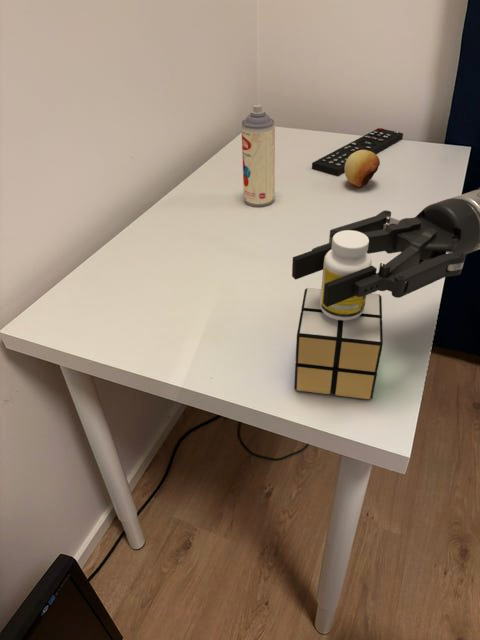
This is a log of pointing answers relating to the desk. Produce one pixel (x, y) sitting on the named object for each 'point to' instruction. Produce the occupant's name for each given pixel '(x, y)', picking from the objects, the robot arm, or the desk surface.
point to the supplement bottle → (345, 271)
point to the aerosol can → (258, 158)
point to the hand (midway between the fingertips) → (309, 281)
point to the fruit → (361, 167)
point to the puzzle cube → (338, 349)
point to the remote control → (369, 142)
